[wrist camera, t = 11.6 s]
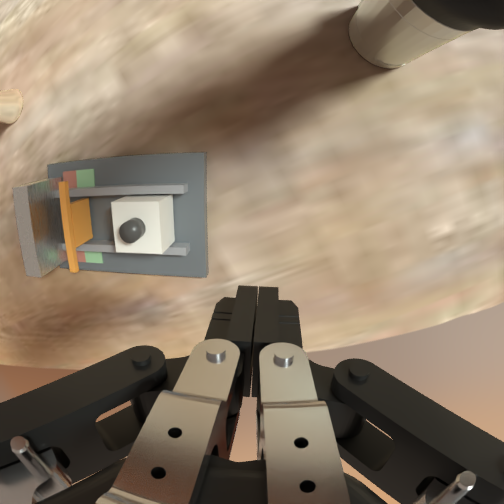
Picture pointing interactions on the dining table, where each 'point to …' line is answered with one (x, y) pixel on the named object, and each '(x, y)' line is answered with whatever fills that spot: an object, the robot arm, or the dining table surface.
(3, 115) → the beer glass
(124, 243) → the spring plunger
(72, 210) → the peak pointer
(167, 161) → the tester base
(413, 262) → the dining table surface
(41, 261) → the brushed metal plate
